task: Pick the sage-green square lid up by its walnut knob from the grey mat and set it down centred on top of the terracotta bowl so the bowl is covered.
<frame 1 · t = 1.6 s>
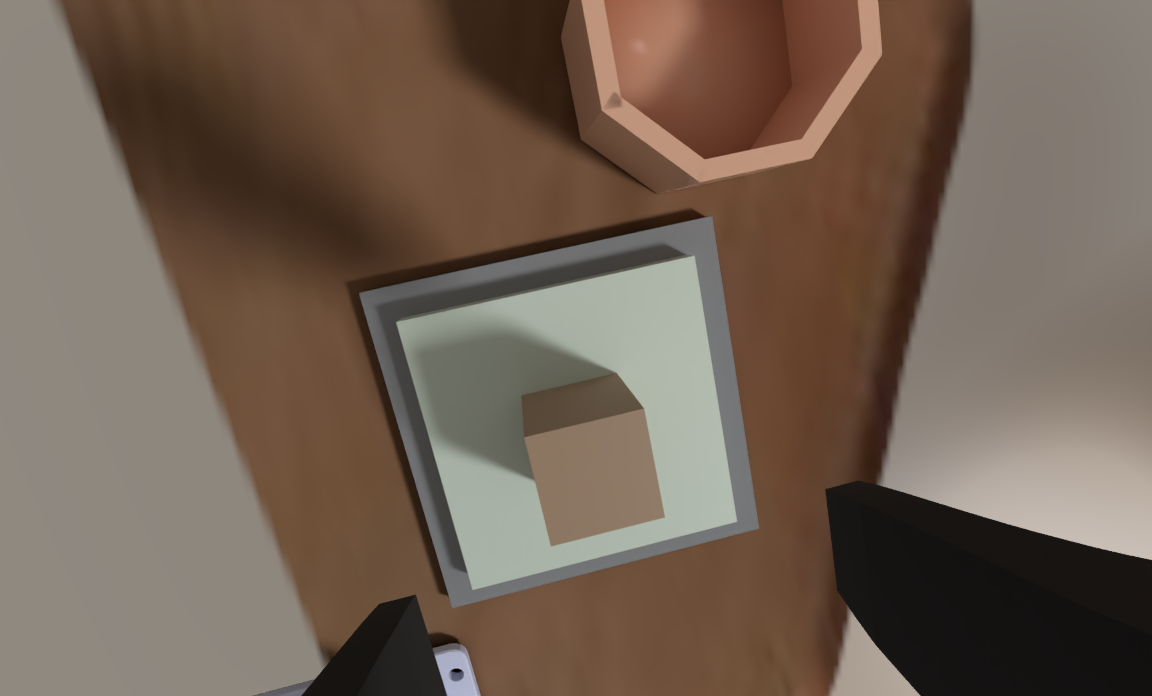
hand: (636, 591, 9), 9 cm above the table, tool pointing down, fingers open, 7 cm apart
sage lid: (576, 421, 18), resting on grey mat
terracotta bowl: (683, 66, 17), on the table
grey mat: (574, 416, 19), on the table
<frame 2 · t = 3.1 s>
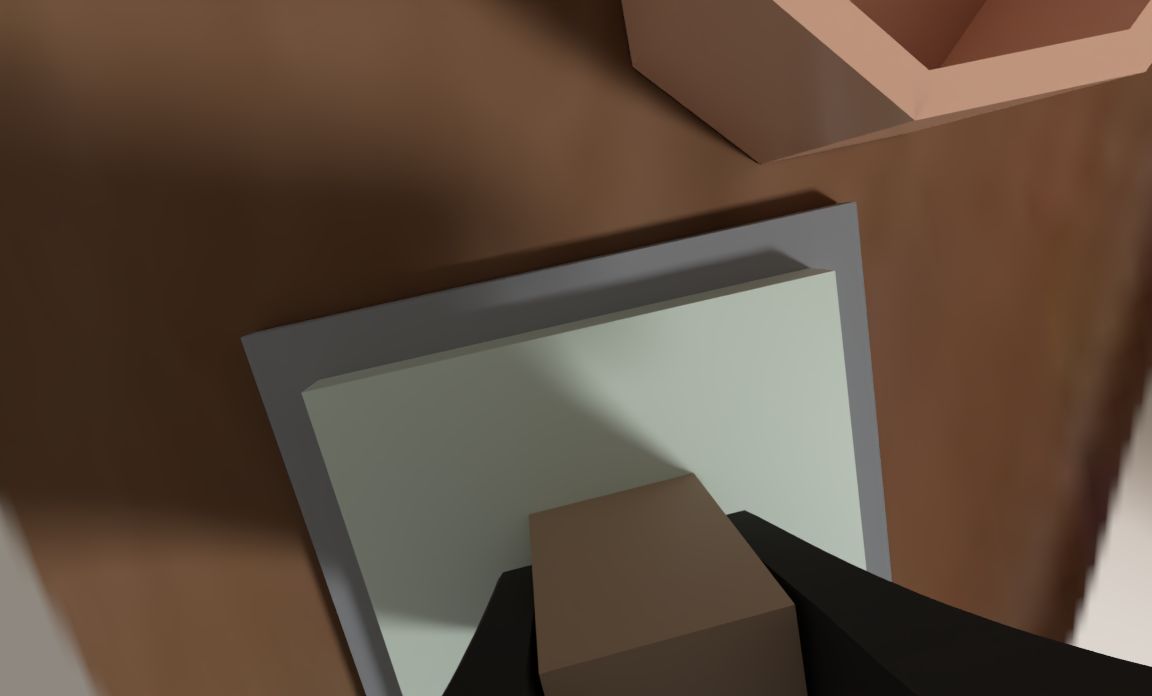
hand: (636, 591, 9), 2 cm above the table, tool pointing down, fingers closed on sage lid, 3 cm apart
sage lid: (619, 543, 11), resting on grey mat, touching gripper
grey mat: (614, 530, 11), on the table
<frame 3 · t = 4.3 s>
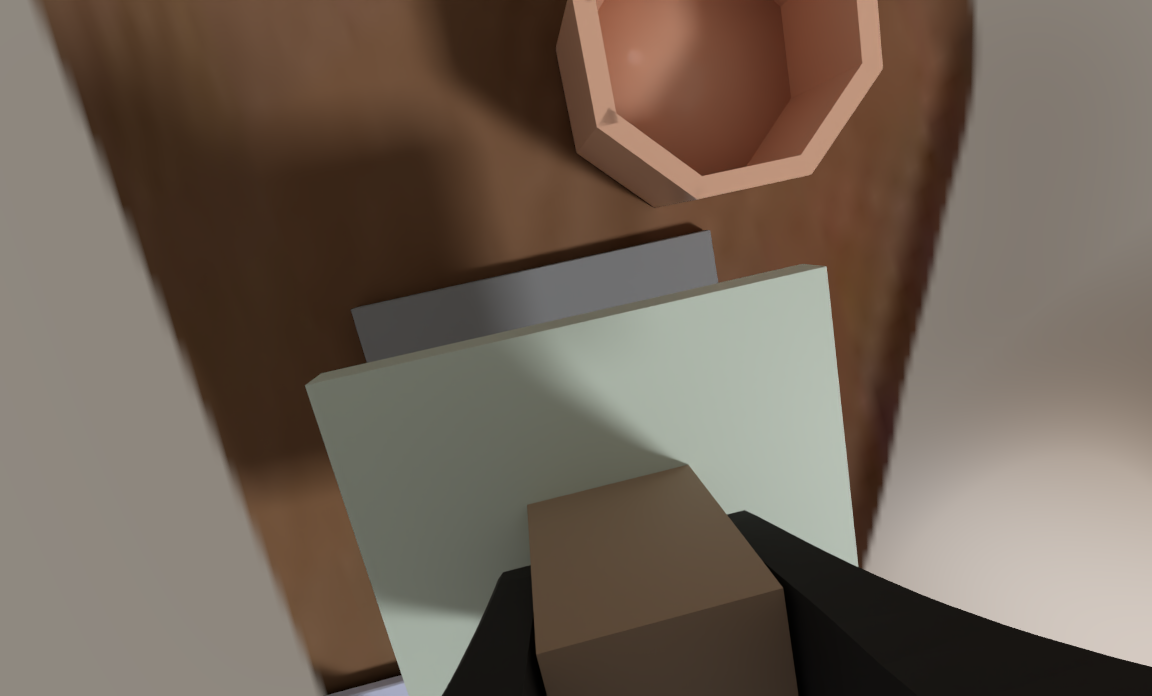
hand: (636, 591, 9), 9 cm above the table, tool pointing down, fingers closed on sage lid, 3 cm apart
sage lid: (616, 534, 11), point 7 cm above the table, touching gripper
terracotta bowl: (680, 78, 16), on the table
grey mat: (571, 432, 18), on the table
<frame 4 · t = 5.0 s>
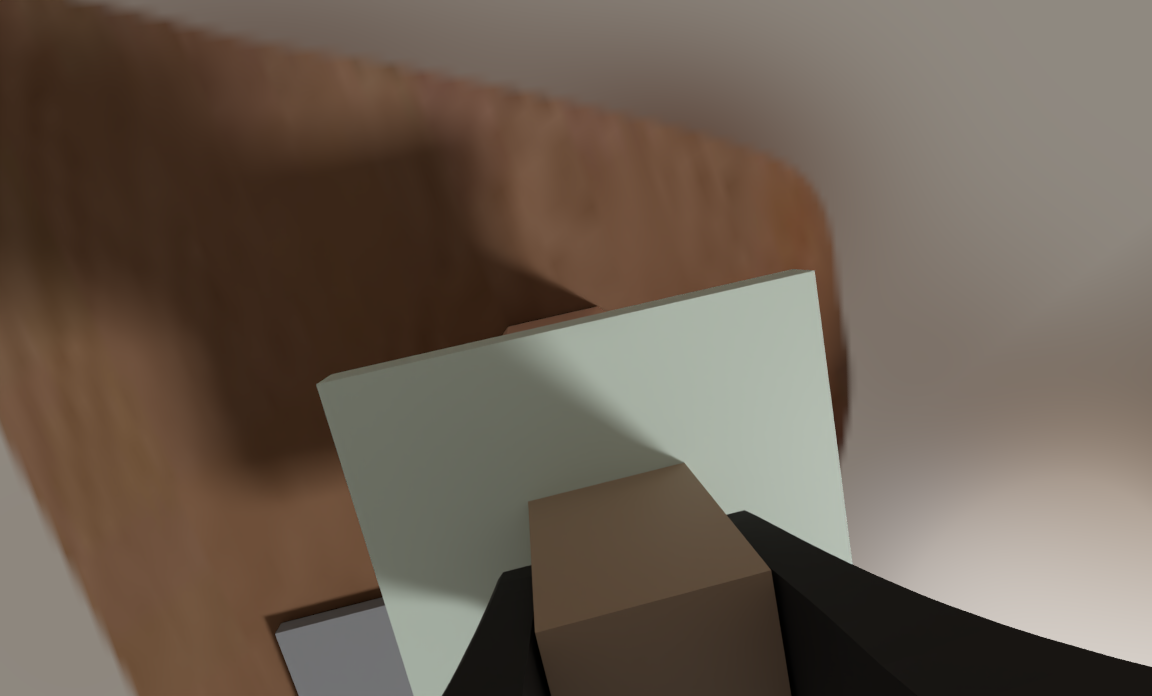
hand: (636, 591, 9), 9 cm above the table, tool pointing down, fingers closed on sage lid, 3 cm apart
sage lid: (615, 532, 11), point 7 cm above the table, touching gripper
terracotta bowl: (575, 419, 18), on the table
when the fingers open (6 cm above the table, at t = 5.7 s): sage lid stays where it is, resting on terracotta bowl.
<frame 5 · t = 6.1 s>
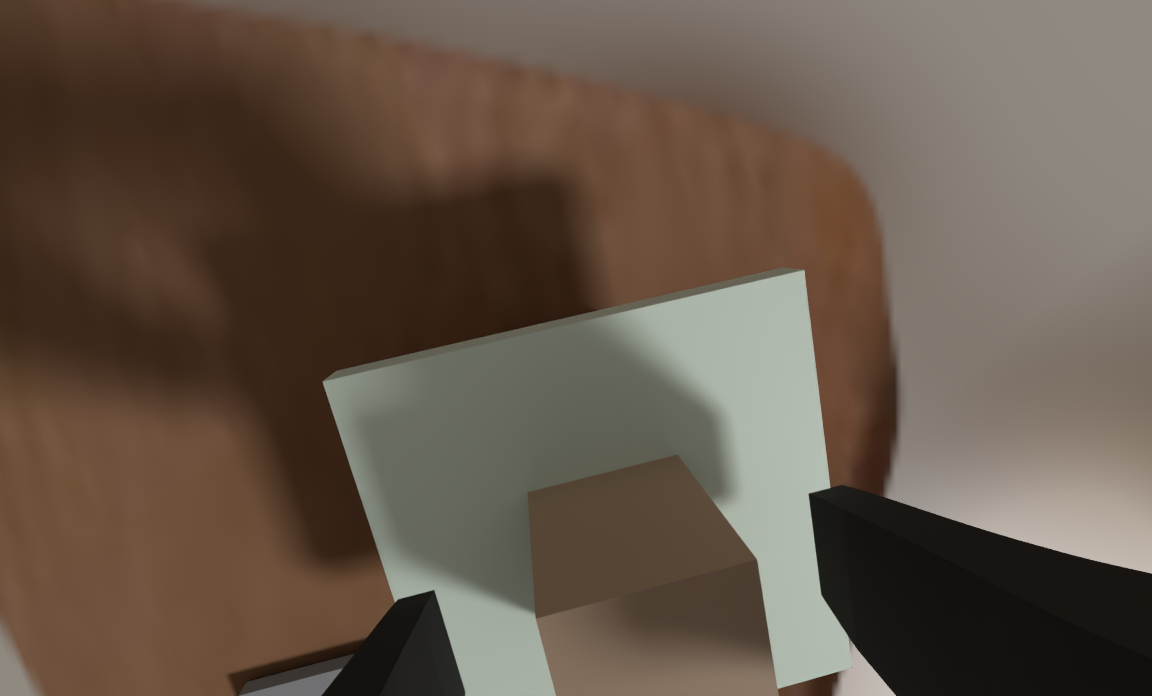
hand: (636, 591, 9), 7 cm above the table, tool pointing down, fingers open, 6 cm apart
sage lid: (611, 521, 12), point 4 cm above the table, touching terracotta bowl
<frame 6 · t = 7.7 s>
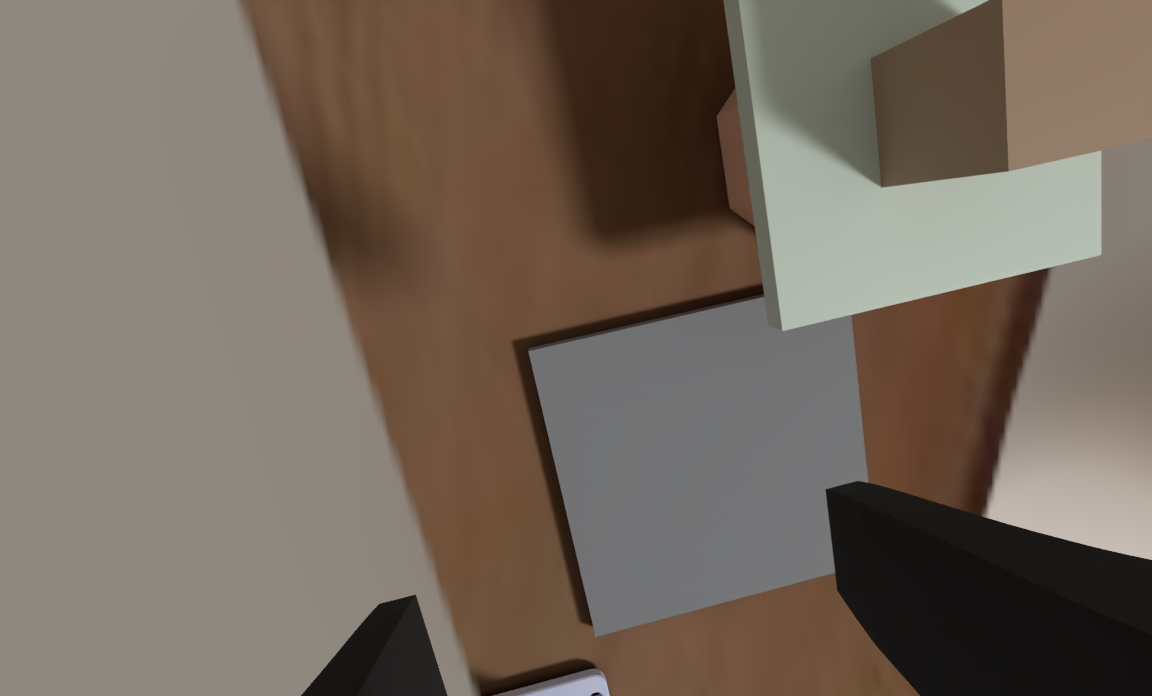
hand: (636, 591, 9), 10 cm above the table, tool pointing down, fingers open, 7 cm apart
sage lid: (910, 118, 14), point 4 cm above the table, touching terracotta bowl
terracotta bowl: (825, 141, 18), on the table
grey mat: (711, 459, 20), on the table
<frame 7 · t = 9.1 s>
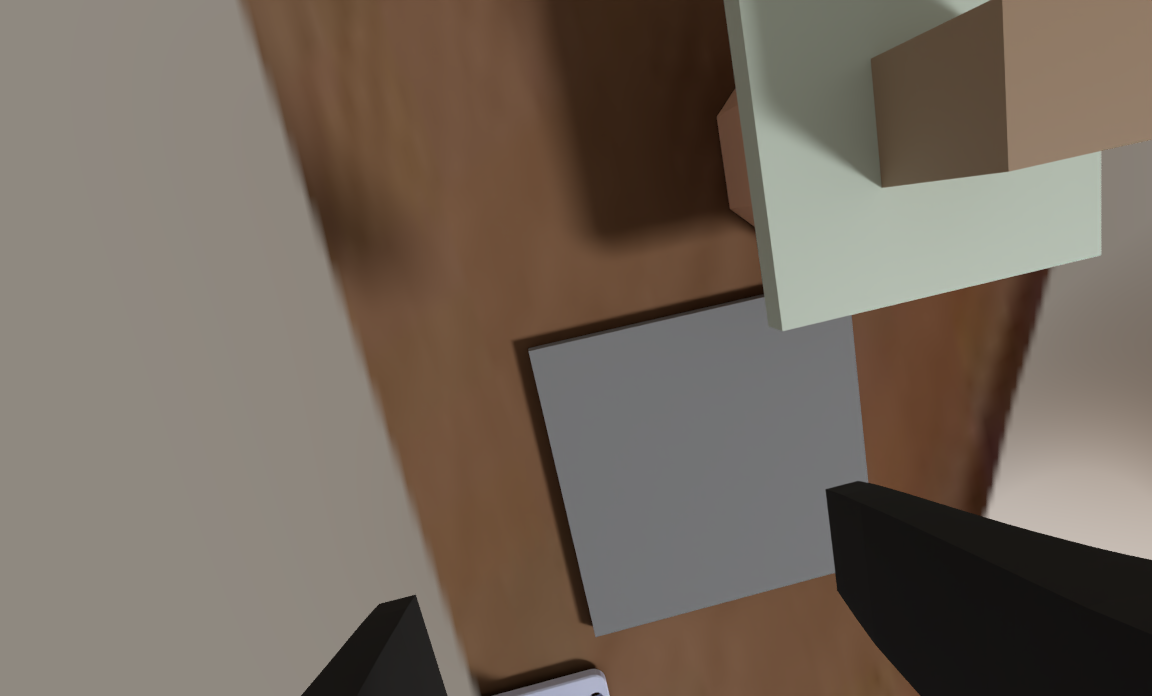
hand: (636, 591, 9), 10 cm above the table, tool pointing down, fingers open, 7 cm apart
sage lid: (910, 119, 14), point 4 cm above the table, touching terracotta bowl
terracotta bowl: (825, 142, 18), on the table
grey mat: (711, 459, 20), on the table
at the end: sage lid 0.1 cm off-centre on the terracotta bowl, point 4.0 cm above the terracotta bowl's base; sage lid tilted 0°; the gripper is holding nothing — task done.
